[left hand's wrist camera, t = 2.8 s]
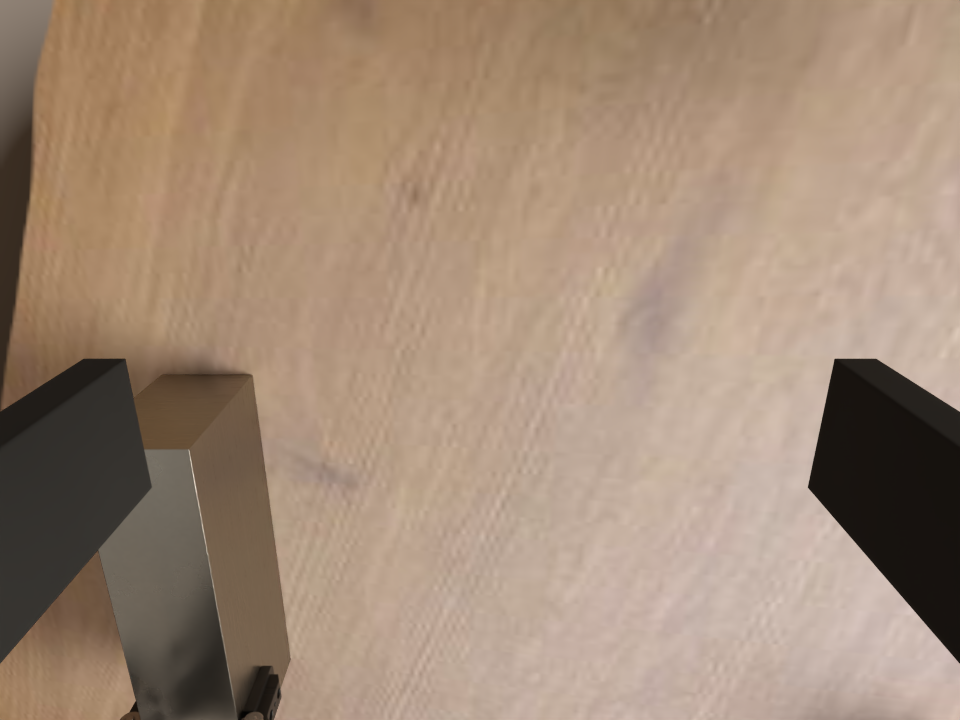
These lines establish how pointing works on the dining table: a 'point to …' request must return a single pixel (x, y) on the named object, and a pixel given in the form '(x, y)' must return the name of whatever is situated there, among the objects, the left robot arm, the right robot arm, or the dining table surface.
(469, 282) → the dining table surface
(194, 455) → the bar
